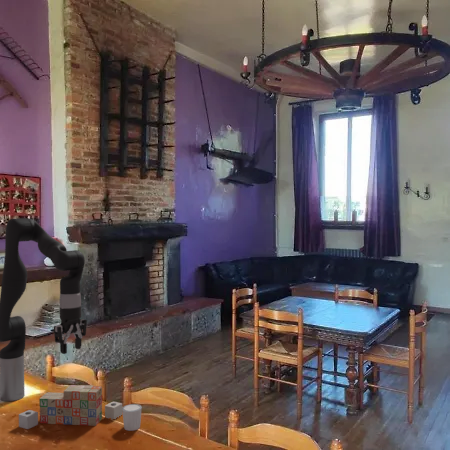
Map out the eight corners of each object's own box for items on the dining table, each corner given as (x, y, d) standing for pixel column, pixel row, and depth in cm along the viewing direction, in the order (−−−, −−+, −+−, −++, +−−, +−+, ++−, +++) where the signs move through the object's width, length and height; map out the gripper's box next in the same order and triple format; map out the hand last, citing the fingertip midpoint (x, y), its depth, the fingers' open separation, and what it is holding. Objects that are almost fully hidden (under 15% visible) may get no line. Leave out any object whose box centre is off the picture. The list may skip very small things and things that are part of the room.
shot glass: (145, 424, 169) (145, 405, 169) (135, 432, 163) (135, 412, 163) (128, 421, 172) (128, 402, 171) (118, 429, 165) (118, 410, 165)
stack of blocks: (39, 423, 171) (38, 390, 170) (47, 416, 177) (46, 384, 176) (96, 426, 169) (96, 391, 168) (102, 418, 175) (102, 385, 175)
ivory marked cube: (104, 417, 175) (104, 405, 175) (113, 413, 179) (113, 400, 179) (114, 420, 173) (114, 407, 173) (122, 415, 177) (122, 403, 177)
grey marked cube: (18, 426, 168) (18, 414, 168) (29, 422, 172) (29, 409, 172) (27, 429, 166) (27, 416, 166) (38, 424, 170) (37, 411, 170)
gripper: (77, 301, 180) (78, 345, 180) (47, 308, 167) (48, 355, 168) (92, 302, 176) (92, 347, 177) (62, 309, 164) (63, 357, 164)
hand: (71, 350), depth 172 cm, fingers open, 6 cm apart
